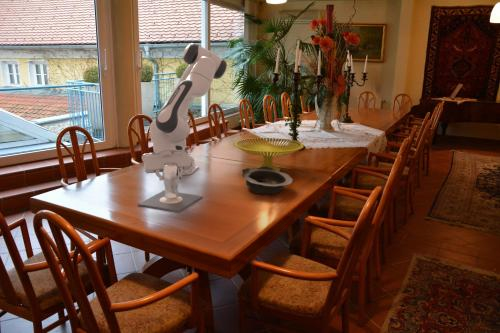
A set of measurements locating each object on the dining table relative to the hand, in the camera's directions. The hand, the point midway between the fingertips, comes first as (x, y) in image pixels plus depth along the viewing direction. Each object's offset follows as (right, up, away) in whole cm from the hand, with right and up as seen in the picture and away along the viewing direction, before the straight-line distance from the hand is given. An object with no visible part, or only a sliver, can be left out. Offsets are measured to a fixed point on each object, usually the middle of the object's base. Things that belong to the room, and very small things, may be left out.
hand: (171, 178), depth 170 cm
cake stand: (+44, +3, +57) cm, 72 cm away
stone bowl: (+42, -6, +22) cm, 48 cm away
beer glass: (0, -8, +3) cm, 9 cm away
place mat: (-1, -10, +3) cm, 11 cm away
